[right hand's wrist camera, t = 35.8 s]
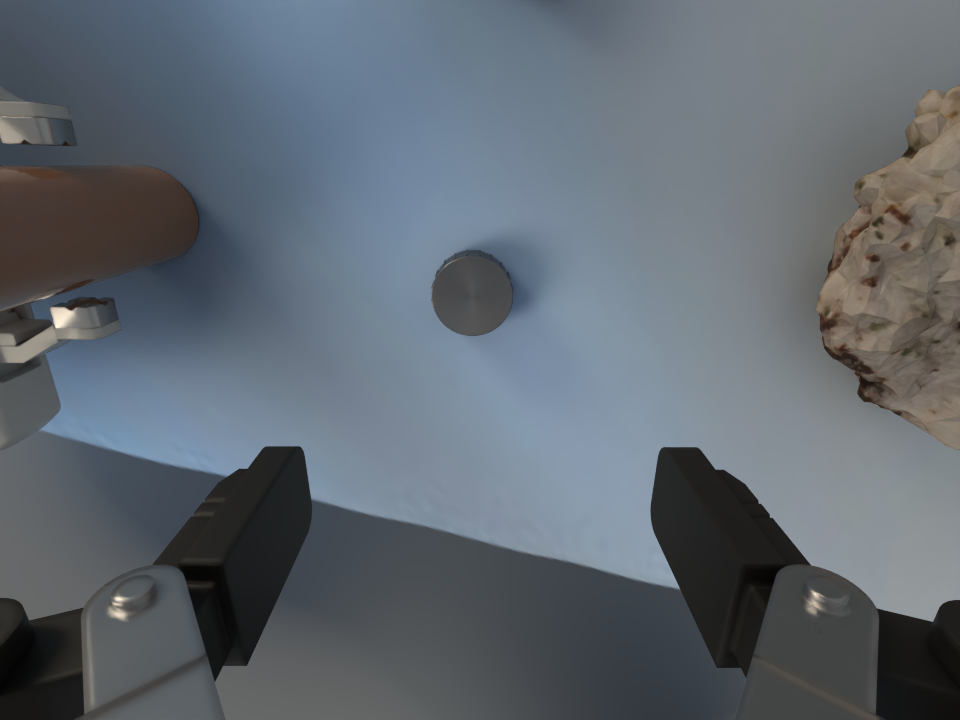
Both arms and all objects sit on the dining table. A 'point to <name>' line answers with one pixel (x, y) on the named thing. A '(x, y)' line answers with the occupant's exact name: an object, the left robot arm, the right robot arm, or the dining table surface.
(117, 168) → the bottle
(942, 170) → the rock
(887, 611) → the right robot arm
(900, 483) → the dining table surface
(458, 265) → the cap
